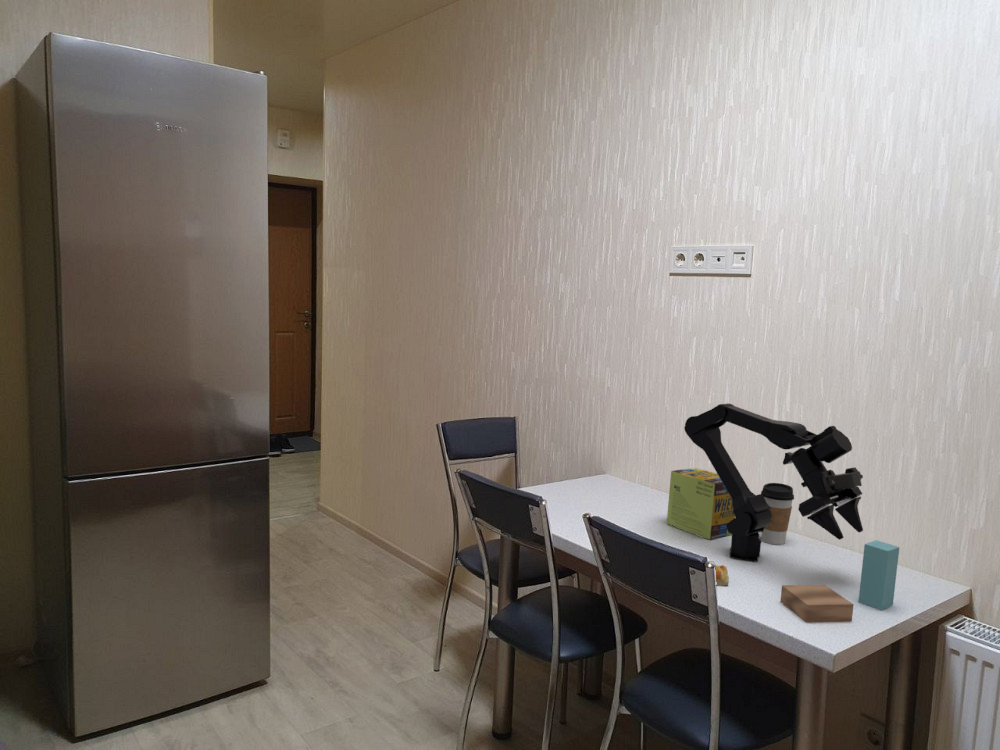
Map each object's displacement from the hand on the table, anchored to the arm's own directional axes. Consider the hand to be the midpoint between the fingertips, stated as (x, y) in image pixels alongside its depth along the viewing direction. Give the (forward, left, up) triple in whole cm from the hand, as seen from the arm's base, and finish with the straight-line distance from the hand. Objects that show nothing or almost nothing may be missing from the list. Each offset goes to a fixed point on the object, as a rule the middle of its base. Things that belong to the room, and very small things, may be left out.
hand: (851, 535), depth 167 cm
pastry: (-29, -6, -13) cm, 33 cm away
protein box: (-32, +32, -13) cm, 48 cm away
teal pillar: (+5, -5, -13) cm, 15 cm away
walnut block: (-8, -15, -13) cm, 21 cm away
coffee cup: (-13, +30, -13) cm, 36 cm away
